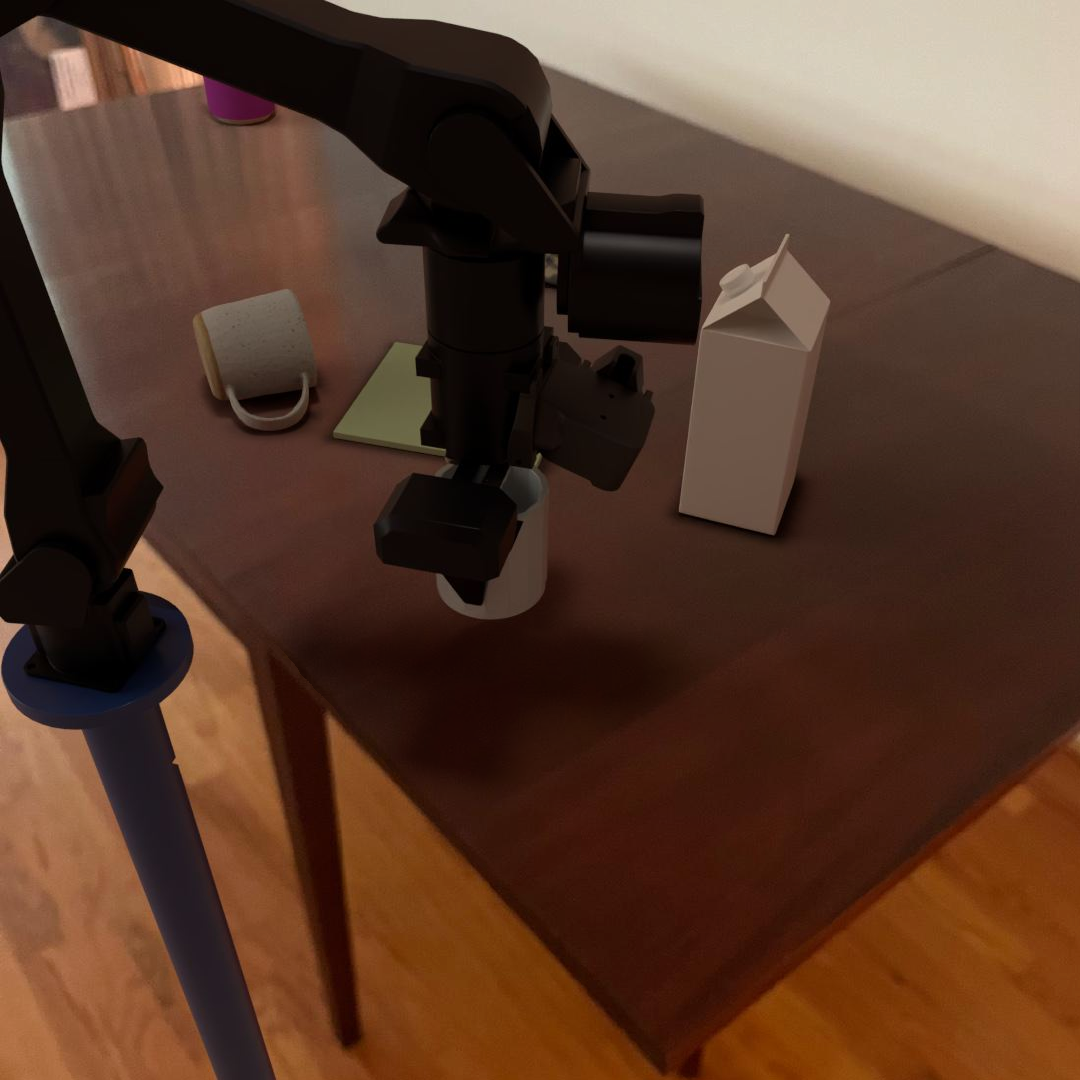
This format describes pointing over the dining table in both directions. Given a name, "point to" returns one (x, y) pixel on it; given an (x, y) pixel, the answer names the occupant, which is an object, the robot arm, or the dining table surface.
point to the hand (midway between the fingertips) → (490, 565)
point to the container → (513, 551)
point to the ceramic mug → (257, 353)
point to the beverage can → (235, 104)
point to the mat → (393, 405)
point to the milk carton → (753, 393)
